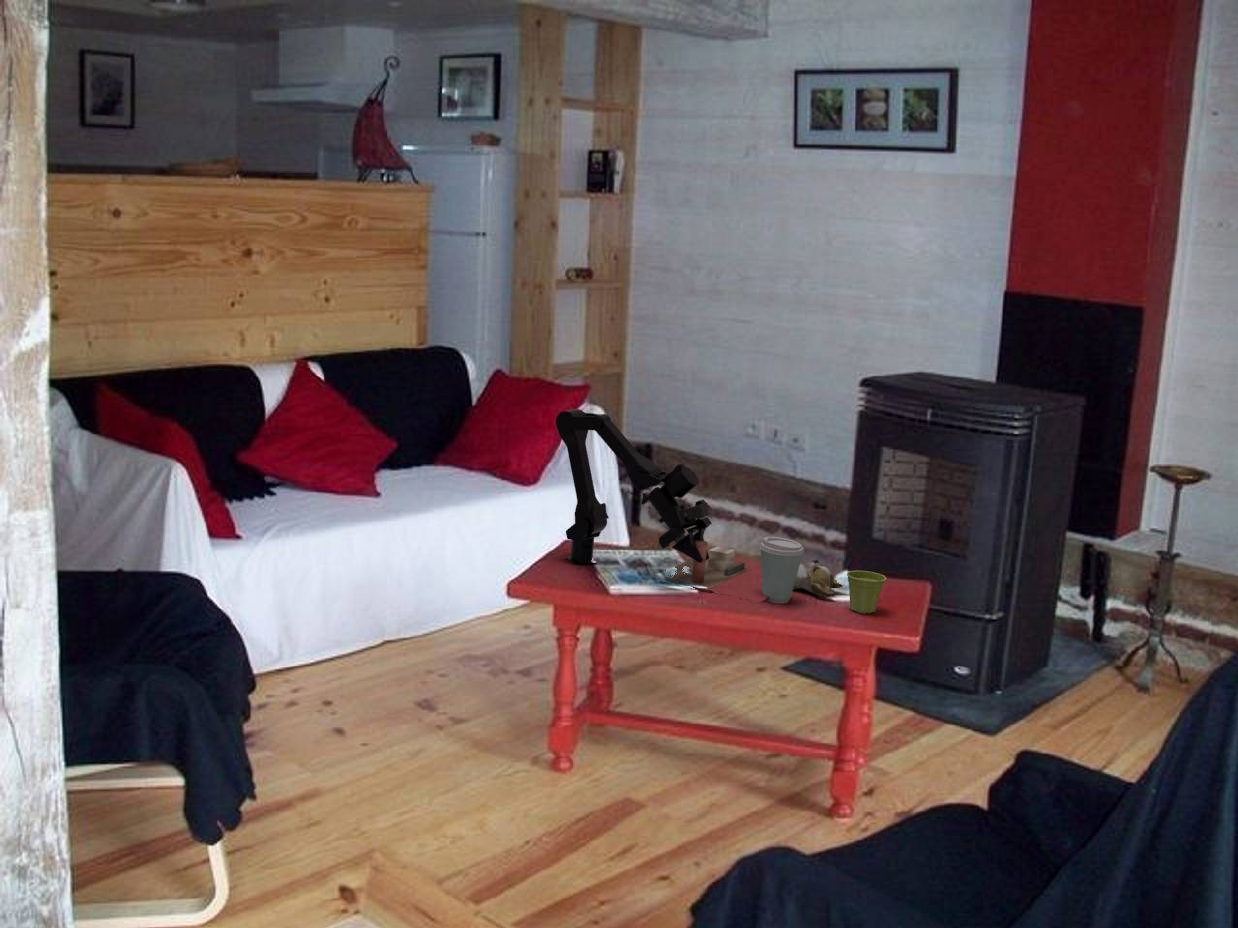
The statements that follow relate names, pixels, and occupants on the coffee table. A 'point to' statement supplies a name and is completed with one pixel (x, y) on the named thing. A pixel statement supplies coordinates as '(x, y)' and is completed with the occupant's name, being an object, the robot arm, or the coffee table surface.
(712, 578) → the wooden stand
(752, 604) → the coffee table surface
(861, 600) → the plant pot
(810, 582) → the ceramic sculpture
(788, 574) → the disposable coffee cup
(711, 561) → the pale ash cube
